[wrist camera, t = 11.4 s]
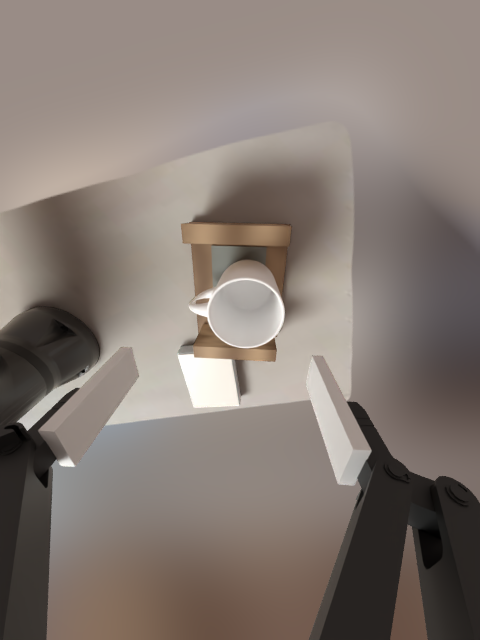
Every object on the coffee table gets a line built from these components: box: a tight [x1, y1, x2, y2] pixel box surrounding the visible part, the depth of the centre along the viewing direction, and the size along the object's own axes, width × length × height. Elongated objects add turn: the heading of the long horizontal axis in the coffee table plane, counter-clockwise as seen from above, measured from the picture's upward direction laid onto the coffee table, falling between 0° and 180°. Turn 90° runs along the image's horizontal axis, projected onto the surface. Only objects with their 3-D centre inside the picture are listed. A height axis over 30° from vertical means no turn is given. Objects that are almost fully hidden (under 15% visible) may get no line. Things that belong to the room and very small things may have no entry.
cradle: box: [181, 222, 292, 362], centre depth 30 cm, size 14×18×8 cm
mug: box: [189, 260, 285, 348], centre depth 28 cm, size 9×12×11 cm
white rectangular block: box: [177, 345, 241, 408], centre depth 41 cm, size 10×14×3 cm
